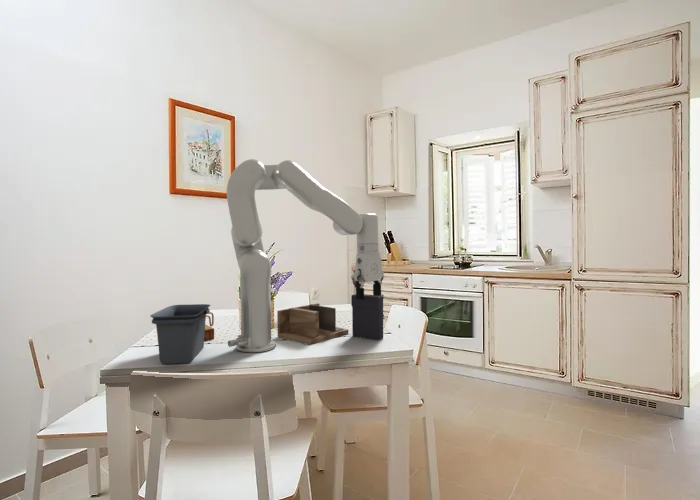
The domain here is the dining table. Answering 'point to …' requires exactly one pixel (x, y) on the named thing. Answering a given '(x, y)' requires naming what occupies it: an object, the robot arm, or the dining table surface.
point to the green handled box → (208, 333)
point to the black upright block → (367, 317)
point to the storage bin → (181, 331)
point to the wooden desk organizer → (308, 324)
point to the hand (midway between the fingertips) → (368, 297)
